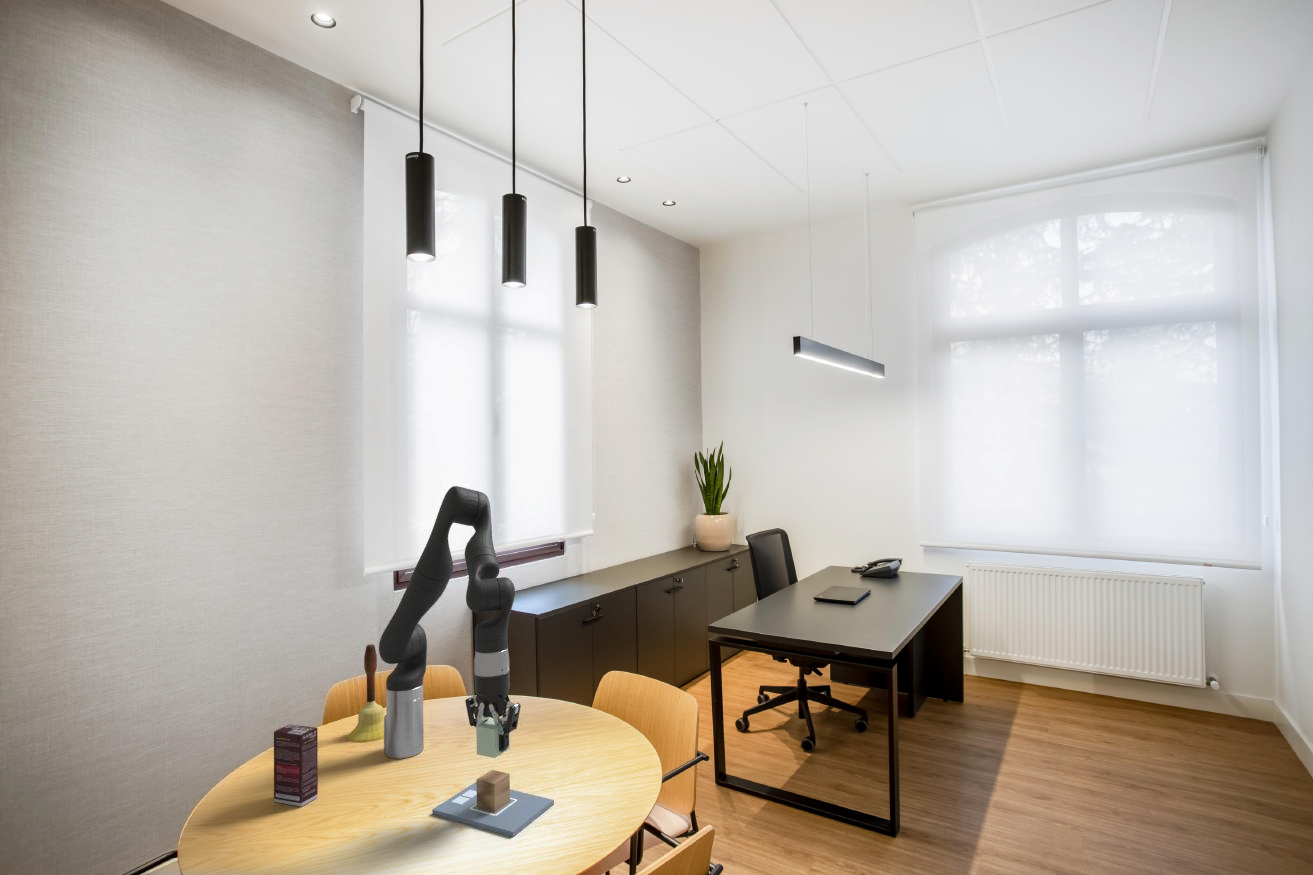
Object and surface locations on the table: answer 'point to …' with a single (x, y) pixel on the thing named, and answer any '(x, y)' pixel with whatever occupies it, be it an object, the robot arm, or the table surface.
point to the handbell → (369, 706)
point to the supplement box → (295, 765)
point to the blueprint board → (502, 821)
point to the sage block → (488, 739)
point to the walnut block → (493, 790)
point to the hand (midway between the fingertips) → (493, 747)
